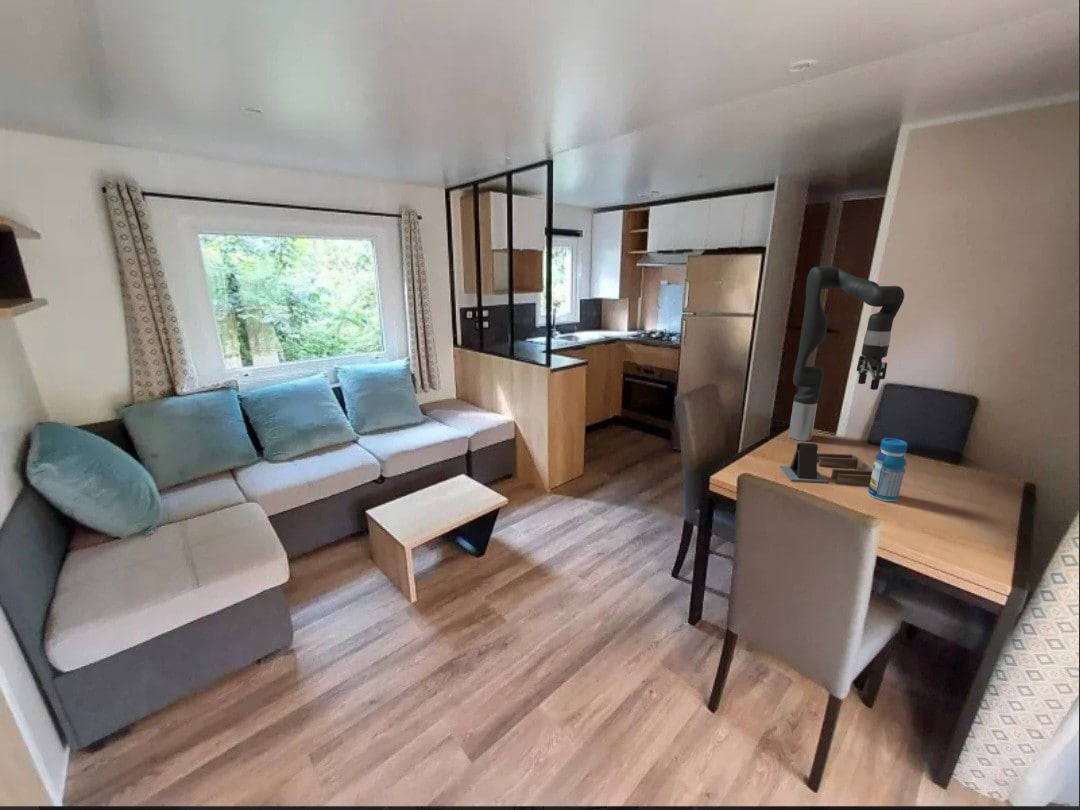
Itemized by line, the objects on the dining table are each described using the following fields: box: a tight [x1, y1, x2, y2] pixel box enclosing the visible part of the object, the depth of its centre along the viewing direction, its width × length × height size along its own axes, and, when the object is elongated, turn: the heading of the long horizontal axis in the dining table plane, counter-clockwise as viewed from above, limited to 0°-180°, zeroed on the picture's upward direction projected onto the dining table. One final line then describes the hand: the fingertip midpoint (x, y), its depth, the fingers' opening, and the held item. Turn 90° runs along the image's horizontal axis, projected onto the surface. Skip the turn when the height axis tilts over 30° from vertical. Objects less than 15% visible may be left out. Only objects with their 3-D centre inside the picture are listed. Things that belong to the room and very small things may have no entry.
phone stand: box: [789, 442, 819, 479], centre depth 163 cm, size 9×6×12 cm, turn 170°
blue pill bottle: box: [867, 437, 909, 502], centre depth 146 cm, size 8×8×20 cm
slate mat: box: [779, 465, 828, 484], centre depth 165 cm, size 12×12×1 cm
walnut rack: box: [817, 452, 873, 486], centre depth 166 cm, size 20×14×4 cm
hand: (867, 386), depth 163 cm, fingers open, 8 cm apart
